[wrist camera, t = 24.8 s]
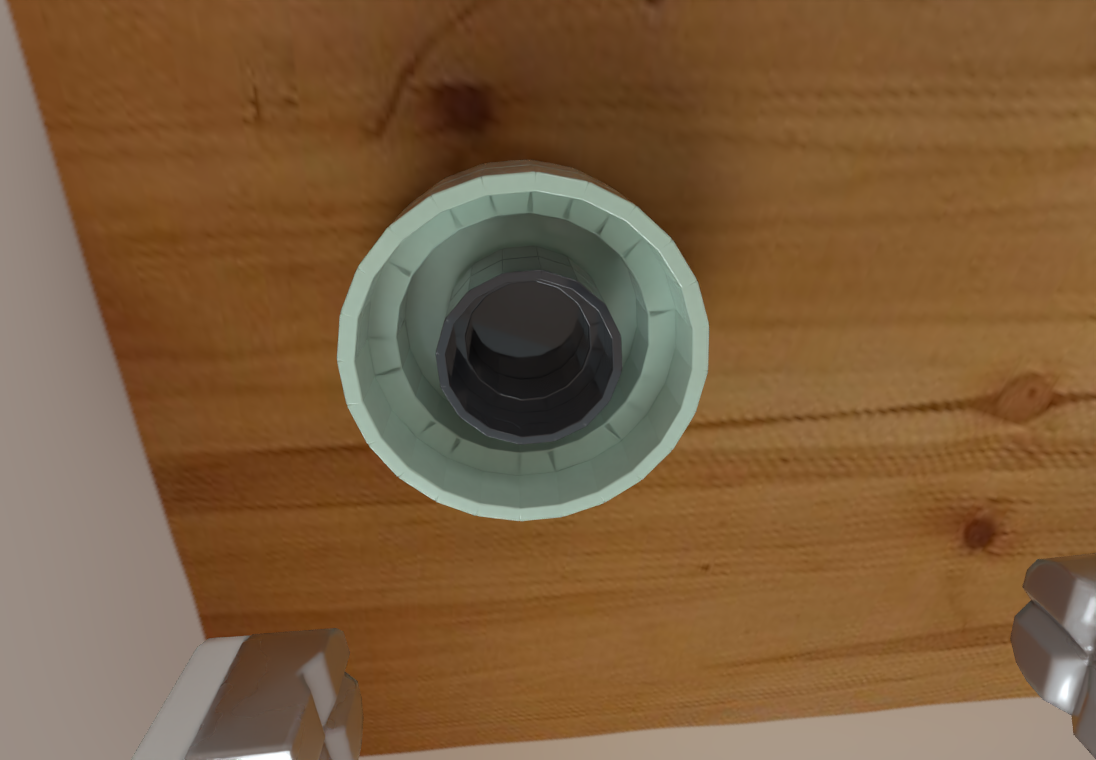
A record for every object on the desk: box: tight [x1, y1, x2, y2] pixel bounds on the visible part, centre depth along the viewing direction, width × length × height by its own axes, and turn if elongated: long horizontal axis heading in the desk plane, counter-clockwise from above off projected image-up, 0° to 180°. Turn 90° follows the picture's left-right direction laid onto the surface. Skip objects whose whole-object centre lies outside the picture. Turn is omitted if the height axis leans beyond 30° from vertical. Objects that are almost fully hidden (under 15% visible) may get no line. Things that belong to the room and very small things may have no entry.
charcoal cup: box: [435, 245, 622, 445], centre depth 25 cm, size 6×6×5 cm
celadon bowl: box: [337, 159, 709, 521], centre depth 25 cm, size 13×13×6 cm
